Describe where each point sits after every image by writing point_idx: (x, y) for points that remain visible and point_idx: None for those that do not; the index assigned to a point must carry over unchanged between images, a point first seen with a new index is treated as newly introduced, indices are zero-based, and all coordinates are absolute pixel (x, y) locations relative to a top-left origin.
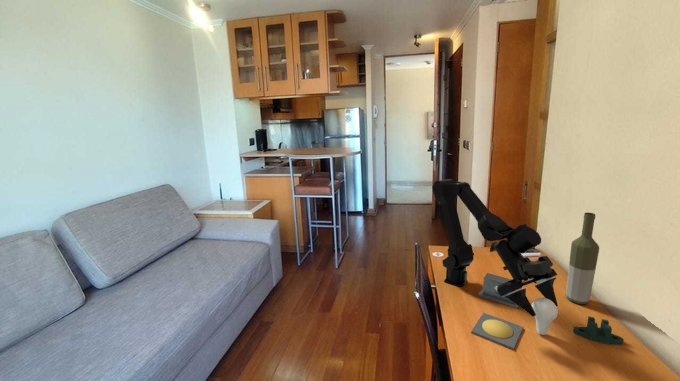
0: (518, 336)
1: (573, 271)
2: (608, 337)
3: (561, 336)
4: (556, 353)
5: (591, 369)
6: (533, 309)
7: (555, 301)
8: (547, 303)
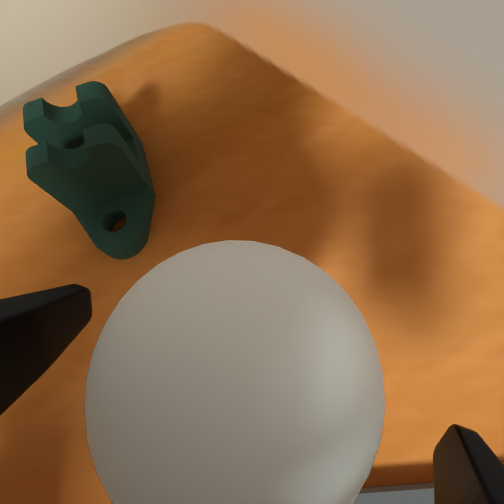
0: (429, 490)
1: None
2: (128, 123)
3: None
4: (373, 270)
5: (362, 150)
6: (491, 490)
7: (41, 301)
8: (287, 322)
